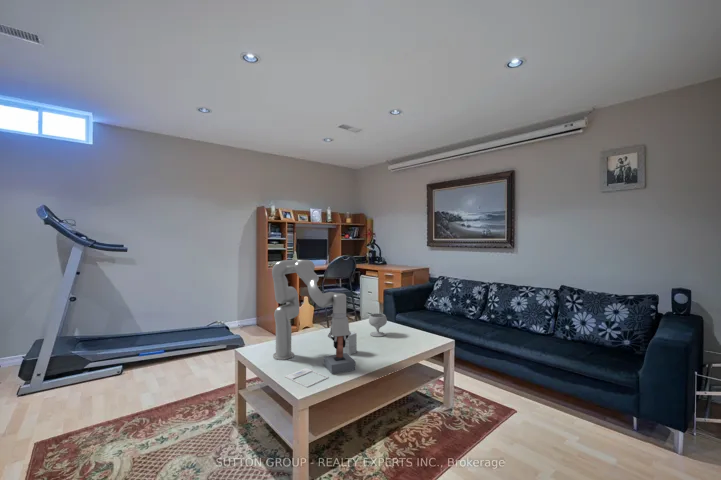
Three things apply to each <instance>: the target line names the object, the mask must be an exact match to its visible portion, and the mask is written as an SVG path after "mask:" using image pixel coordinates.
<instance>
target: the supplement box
mask: <svg viewBox="0 0 721 480" xmlns="http://www.w3.org/2000/svg"><path fill="white" fill-rule="evenodd" d="M350 332H351V335H350V336H348V338H347V339H346V345H345V348H344V347H343V353H347V354H348V355H349V356H351V355H353V354H355V353H357V345H358V344H357V342H358V341H357V336H358V335H357V332H353V331H350Z"/></svg>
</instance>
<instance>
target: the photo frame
mask: <svg viewBox="0 0 721 480" xmlns="http://www.w3.org/2000/svg"><path fill="white" fill-rule="evenodd" d="M309 373H314V374H316V375H319V376H321V377H323V378H321V379H319V380H317V381H315V382H312V383H310V384H308V385H307V384H304V383H303V382H300V381H298V380H295V379H297V378H300V377H302V376H304V375H308V374H309ZM284 378H286V379H288V380H290V381H292V382H294V383H296V384H298V385H301V386H302V387H305V388H310V387H311V386H315V385H316V384H319V383H321V382H323V381H324V380H327V379H329V376H327V375H325V374H323V373H320V372H318V371H315V370H313V369H310V368H307V367H305V368H302V369H300V370H297V371H295V372H294V371H293V372H292V373H290V374H287V375H285V376H284Z"/></svg>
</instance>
